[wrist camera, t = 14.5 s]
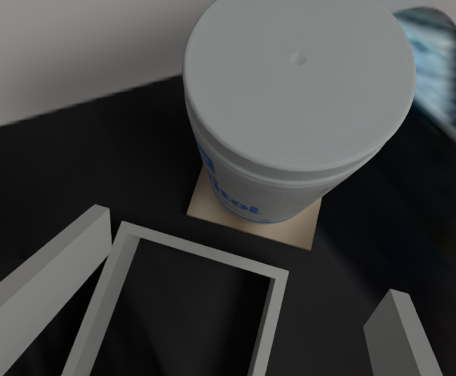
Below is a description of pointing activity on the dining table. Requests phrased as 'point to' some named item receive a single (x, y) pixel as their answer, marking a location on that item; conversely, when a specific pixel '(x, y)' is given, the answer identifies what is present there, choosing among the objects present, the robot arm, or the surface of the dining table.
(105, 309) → the grey square frame
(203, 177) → the birch board
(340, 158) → the supplement tub
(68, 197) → the dining table surface
